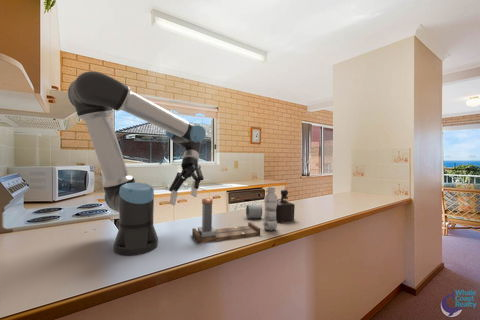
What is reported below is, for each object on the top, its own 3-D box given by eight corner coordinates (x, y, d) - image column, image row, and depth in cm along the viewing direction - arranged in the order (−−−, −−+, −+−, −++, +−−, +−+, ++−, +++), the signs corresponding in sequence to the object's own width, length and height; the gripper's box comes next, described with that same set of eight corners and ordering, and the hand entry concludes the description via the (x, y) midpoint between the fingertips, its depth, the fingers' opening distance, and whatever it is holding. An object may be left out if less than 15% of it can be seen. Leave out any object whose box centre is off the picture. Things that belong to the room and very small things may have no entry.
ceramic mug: (262, 219, 126) (263, 205, 126) (248, 220, 124) (248, 206, 124) (257, 215, 137) (257, 202, 136) (244, 215, 135) (244, 202, 135)
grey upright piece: (201, 237, 92) (202, 201, 92) (197, 232, 99) (198, 198, 98) (216, 235, 95) (216, 200, 94) (211, 230, 101) (211, 197, 101)
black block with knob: (267, 217, 130) (268, 186, 130) (284, 216, 134) (284, 185, 134) (282, 225, 116) (283, 190, 115) (300, 223, 120) (301, 189, 119)
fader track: (197, 243, 90) (197, 236, 90) (192, 235, 99) (192, 228, 99) (260, 235, 101) (260, 228, 101) (250, 228, 110) (250, 222, 110)
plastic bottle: (272, 227, 113) (273, 186, 113) (279, 231, 107) (280, 188, 107) (260, 228, 111) (261, 187, 111) (267, 232, 105) (268, 189, 104)
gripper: (214, 155, 108) (209, 195, 95) (179, 173, 120) (170, 210, 107) (203, 147, 103) (196, 187, 90) (167, 166, 116) (157, 204, 103)
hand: (182, 200), depth 99 cm, fingers open, 13 cm apart
